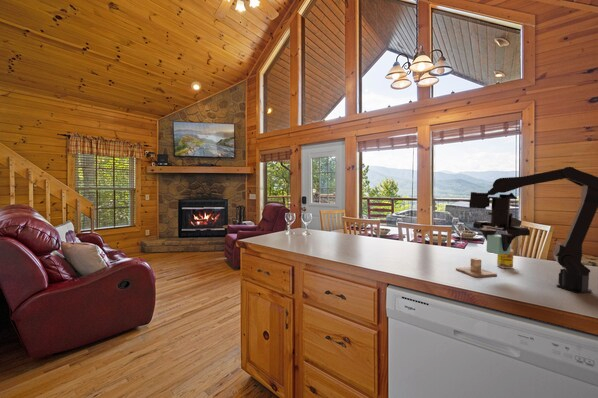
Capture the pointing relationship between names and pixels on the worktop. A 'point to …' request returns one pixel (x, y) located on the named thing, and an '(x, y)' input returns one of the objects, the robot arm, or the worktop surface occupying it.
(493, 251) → the mint tissue box
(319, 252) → the worktop surface
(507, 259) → the supplement bottle
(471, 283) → the worktop surface
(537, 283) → the worktop surface
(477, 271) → the post fixture
